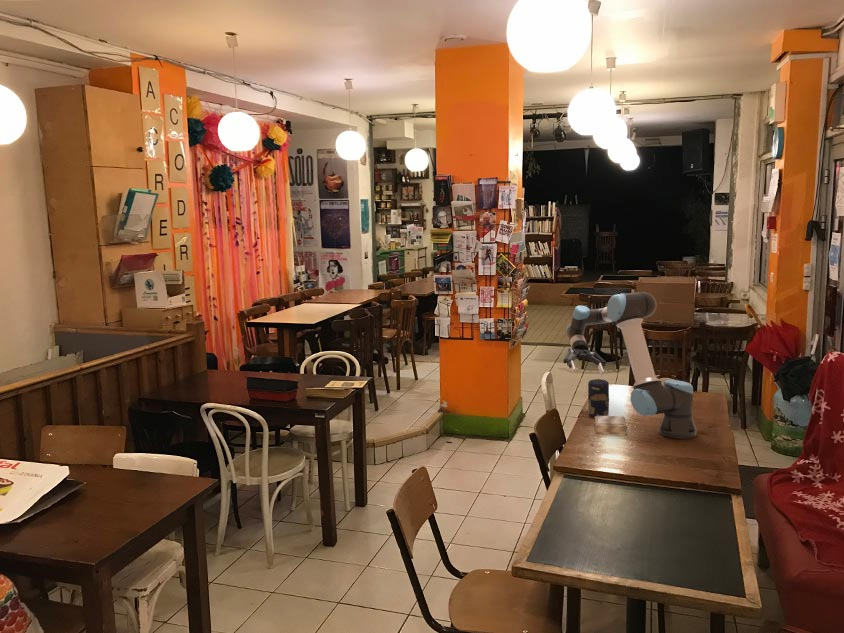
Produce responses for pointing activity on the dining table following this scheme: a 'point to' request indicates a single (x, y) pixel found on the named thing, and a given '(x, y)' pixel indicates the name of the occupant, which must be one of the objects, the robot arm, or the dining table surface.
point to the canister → (598, 397)
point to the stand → (610, 425)
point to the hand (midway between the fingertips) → (588, 372)
